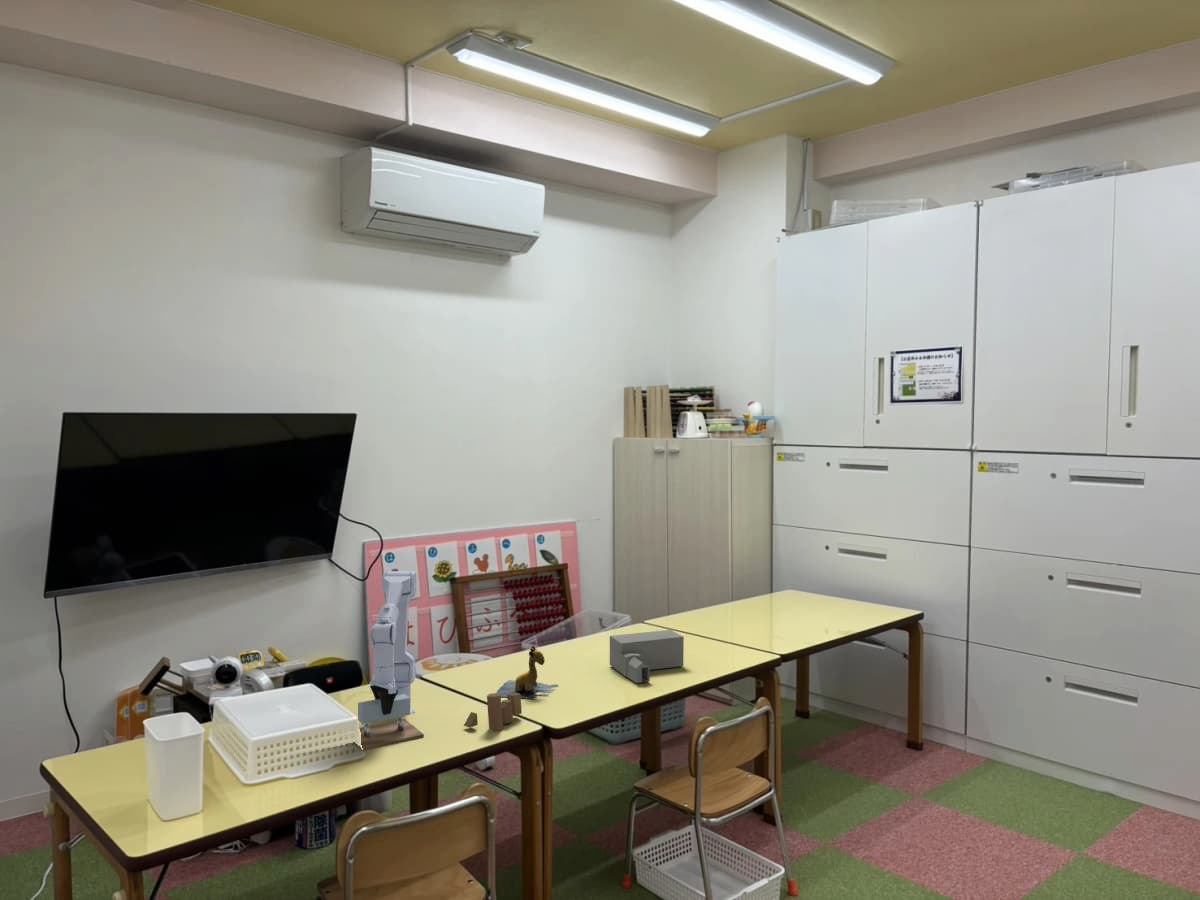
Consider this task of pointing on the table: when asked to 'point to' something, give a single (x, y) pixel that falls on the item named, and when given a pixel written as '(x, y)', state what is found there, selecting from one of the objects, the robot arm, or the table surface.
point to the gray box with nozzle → (645, 653)
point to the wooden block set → (498, 711)
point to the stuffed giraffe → (528, 680)
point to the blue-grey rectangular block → (373, 709)
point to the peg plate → (388, 733)
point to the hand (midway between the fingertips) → (384, 711)
